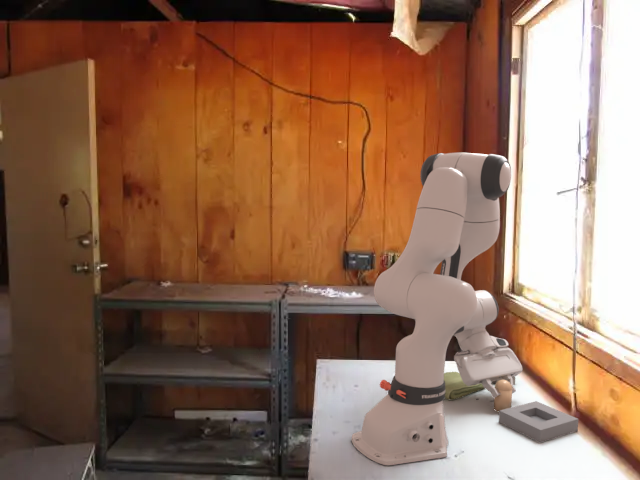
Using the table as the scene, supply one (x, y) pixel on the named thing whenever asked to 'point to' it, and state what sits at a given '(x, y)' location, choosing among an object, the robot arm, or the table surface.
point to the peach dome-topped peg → (503, 395)
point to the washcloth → (457, 386)
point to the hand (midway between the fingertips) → (505, 394)
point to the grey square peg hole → (538, 421)
